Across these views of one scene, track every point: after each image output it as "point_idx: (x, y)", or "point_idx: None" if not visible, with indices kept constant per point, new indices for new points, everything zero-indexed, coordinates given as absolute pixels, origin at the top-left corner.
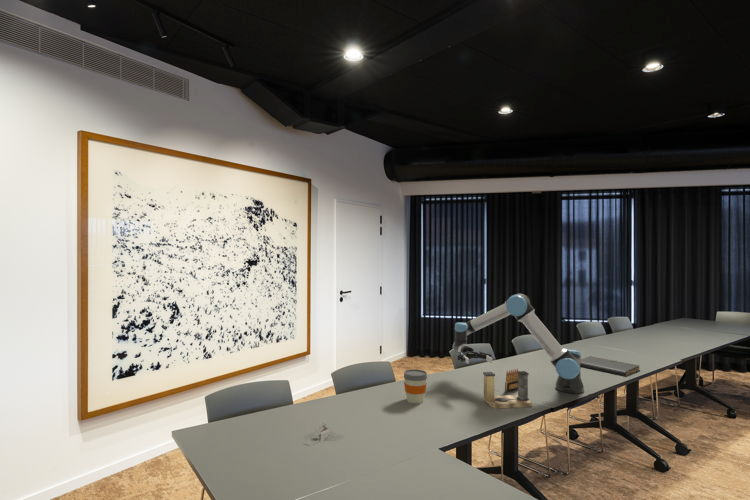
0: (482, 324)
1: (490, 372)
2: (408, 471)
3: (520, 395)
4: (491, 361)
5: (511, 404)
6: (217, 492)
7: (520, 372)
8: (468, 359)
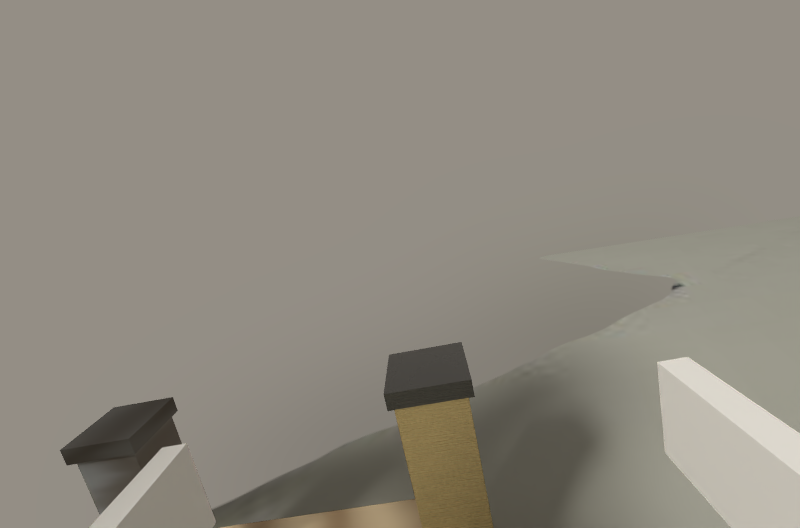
0: None
1: (401, 381)
2: (714, 247)
3: None
4: (197, 500)
5: (342, 514)
6: None
7: (144, 416)
8: (668, 375)
